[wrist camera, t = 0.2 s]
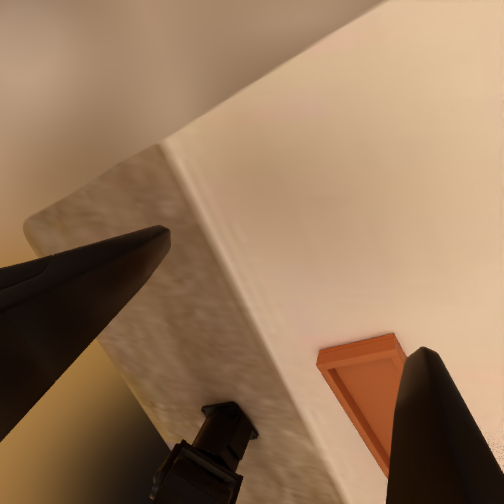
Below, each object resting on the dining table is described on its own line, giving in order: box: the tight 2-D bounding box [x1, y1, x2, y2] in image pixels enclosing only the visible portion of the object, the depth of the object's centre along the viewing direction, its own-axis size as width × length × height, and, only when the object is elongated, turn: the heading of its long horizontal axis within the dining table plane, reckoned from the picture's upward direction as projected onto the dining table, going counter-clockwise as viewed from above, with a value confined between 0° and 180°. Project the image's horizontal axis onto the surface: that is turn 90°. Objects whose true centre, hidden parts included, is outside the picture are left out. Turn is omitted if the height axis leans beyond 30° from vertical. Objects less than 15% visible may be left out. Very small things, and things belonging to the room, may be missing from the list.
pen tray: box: [316, 334, 407, 479], centre depth 28 cm, size 20×8×2 cm, turn 33°
